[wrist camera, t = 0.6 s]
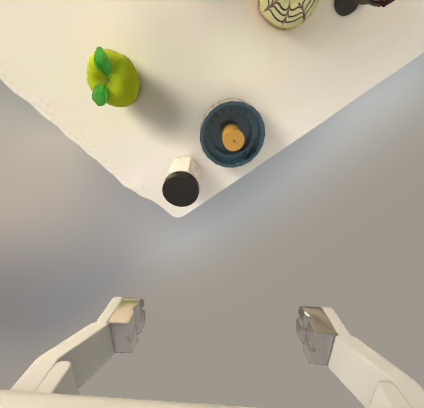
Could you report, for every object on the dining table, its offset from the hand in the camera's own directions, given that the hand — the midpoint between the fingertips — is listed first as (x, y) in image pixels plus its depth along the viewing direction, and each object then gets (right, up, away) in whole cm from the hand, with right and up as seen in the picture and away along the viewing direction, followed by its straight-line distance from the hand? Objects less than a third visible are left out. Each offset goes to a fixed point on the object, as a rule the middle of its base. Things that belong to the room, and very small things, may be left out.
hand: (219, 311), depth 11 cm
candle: (+4, +23, +39) cm, 45 cm away
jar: (-8, +15, +45) cm, 48 cm away
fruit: (-20, +33, +33) cm, 50 cm away
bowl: (+4, +24, +39) cm, 46 cm away
